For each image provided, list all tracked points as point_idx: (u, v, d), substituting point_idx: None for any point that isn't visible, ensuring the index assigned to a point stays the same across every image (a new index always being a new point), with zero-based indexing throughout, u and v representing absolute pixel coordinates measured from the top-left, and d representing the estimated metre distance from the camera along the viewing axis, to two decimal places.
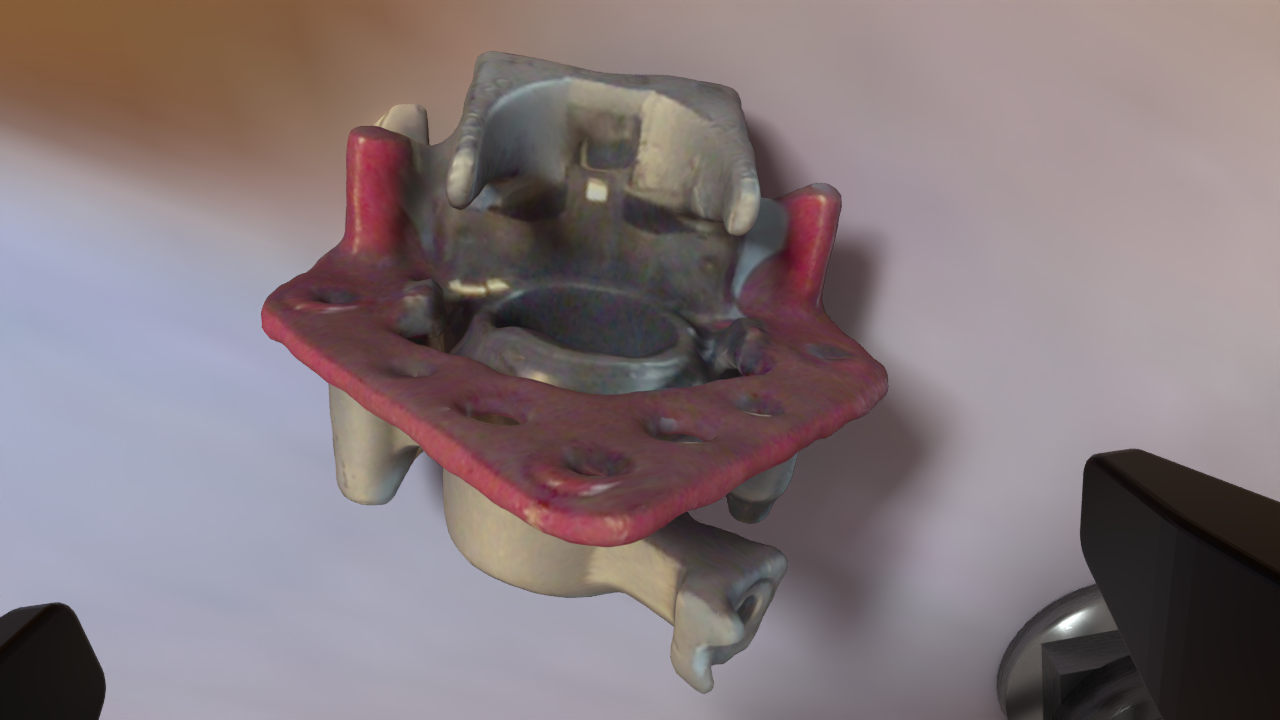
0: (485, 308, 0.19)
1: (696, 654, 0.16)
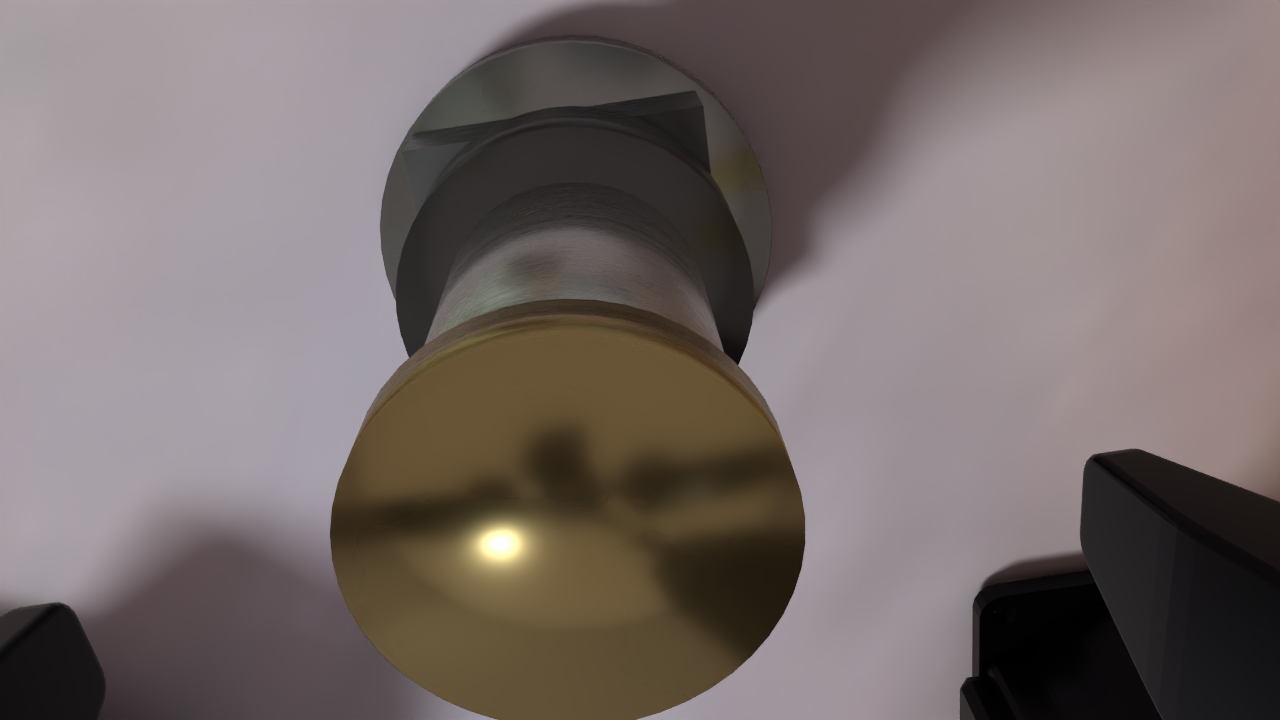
0: None
1: None
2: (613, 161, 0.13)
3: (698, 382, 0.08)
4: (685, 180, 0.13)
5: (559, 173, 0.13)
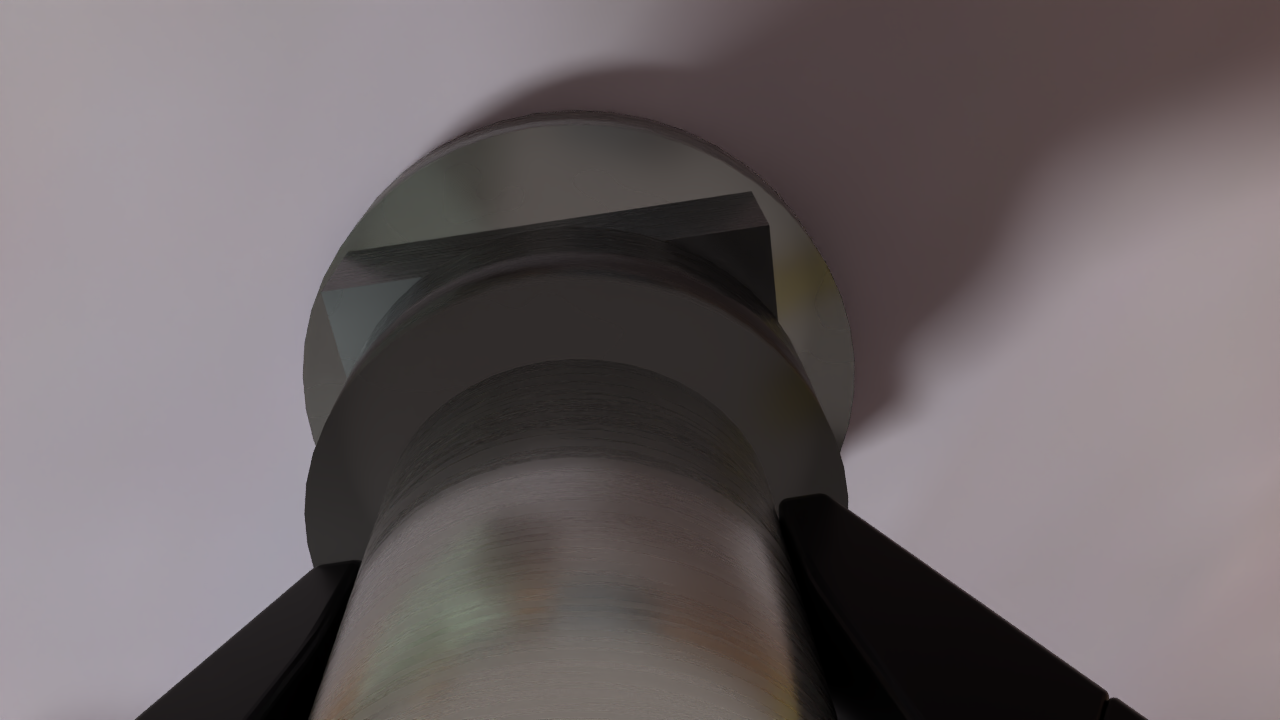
0: None
1: None
2: (637, 329, 0.08)
3: None
4: (749, 356, 0.09)
5: (553, 347, 0.09)
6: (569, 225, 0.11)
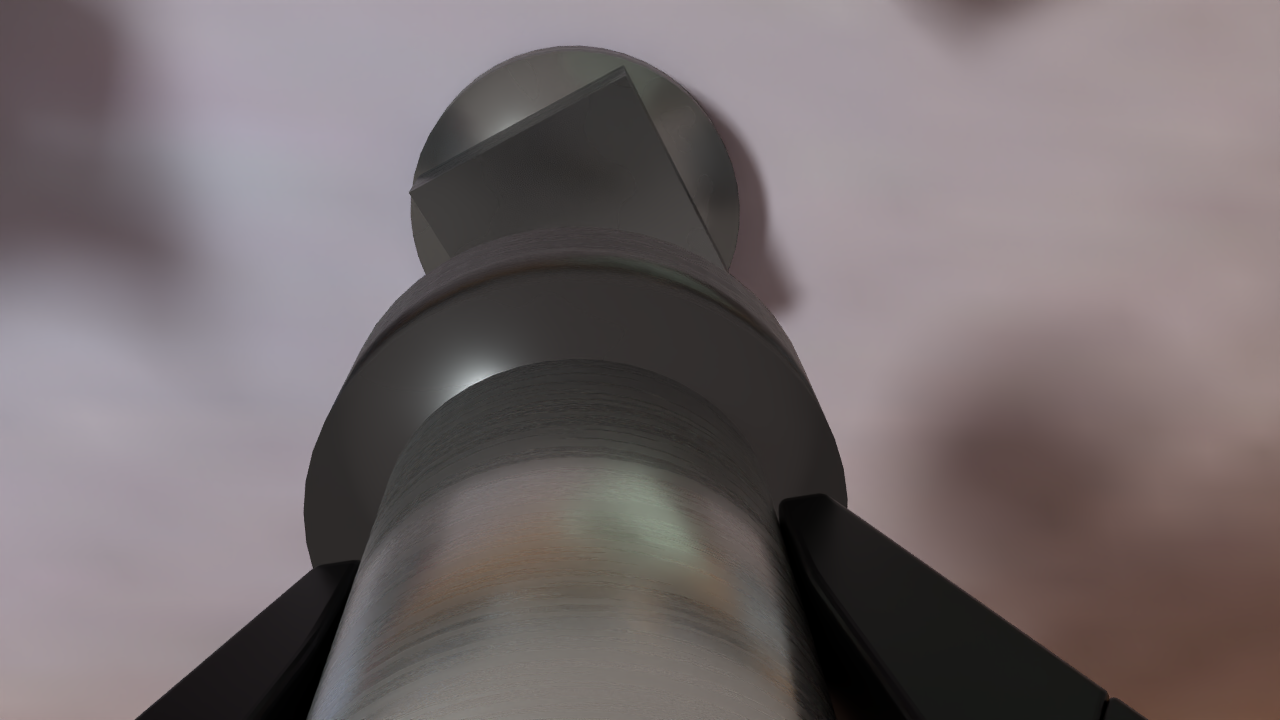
0: None
1: None
2: (638, 329, 0.08)
3: None
4: (749, 357, 0.09)
5: (554, 347, 0.09)
6: (683, 183, 0.19)
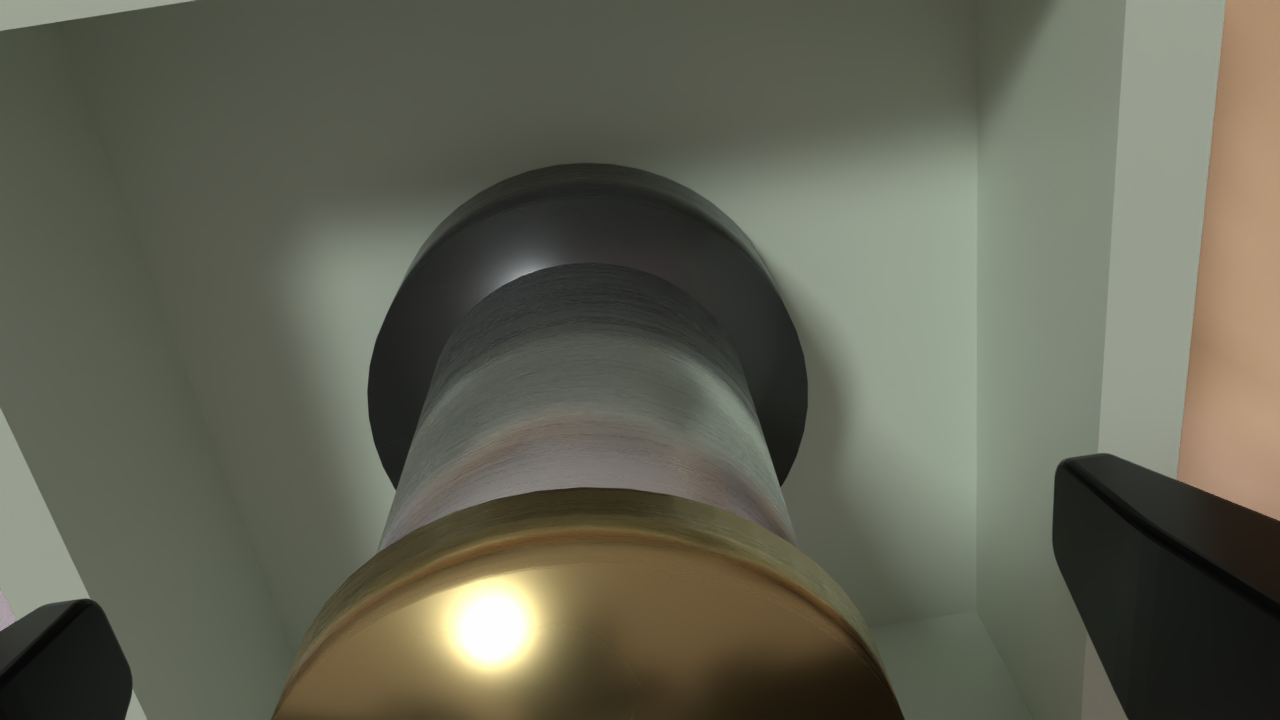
0: None
1: None
2: (638, 238, 0.11)
3: (781, 627, 0.06)
4: (727, 261, 0.11)
5: (571, 252, 0.11)
6: None
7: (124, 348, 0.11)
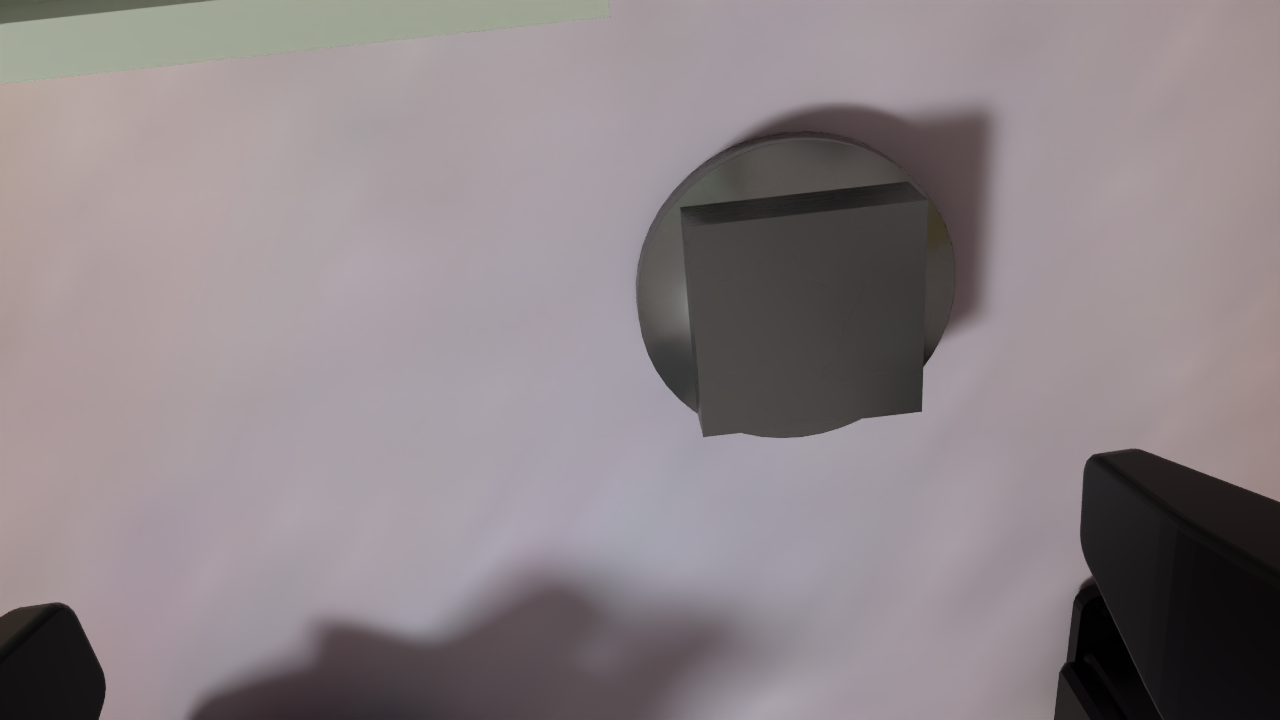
0: None
1: None
2: None
3: None
4: None
5: None
6: (809, 196, 0.19)
7: None
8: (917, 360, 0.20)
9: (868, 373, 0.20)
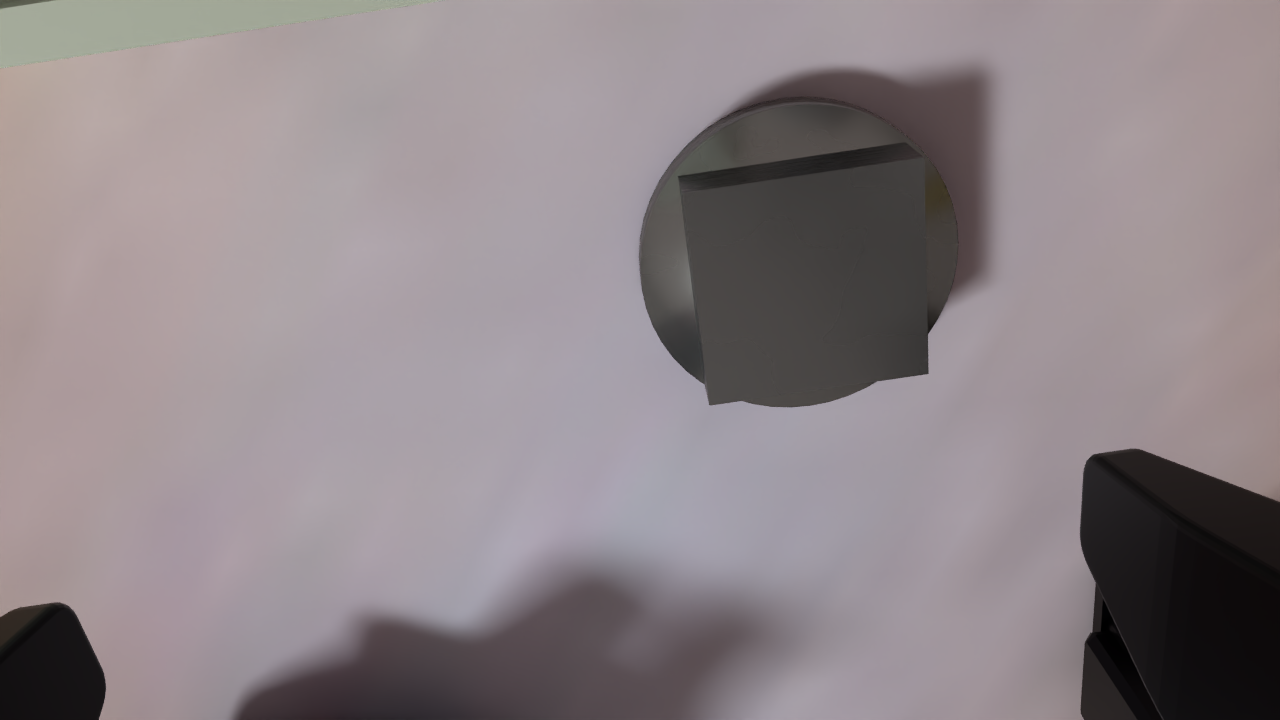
0: None
1: None
2: None
3: None
4: None
5: None
6: (805, 160, 0.19)
7: None
8: (921, 321, 0.20)
9: (872, 336, 0.20)
